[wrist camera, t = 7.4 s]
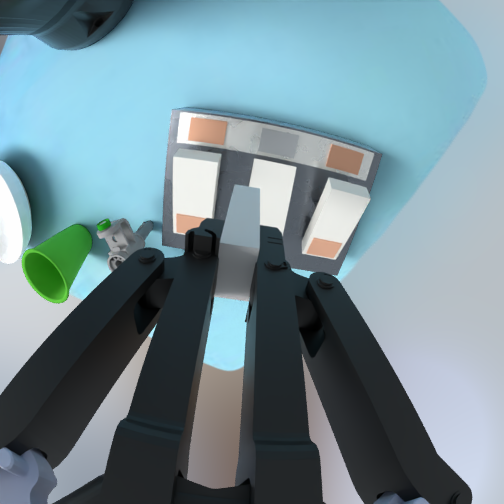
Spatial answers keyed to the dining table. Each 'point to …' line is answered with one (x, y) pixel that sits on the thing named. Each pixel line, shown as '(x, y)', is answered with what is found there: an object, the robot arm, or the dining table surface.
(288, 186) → the rocker
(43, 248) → the cup
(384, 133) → the dining table surface
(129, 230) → the mechanical component
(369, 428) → the robot arm
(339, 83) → the dining table surface
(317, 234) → the block
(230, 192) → the console
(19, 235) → the bowl
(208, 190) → the block
